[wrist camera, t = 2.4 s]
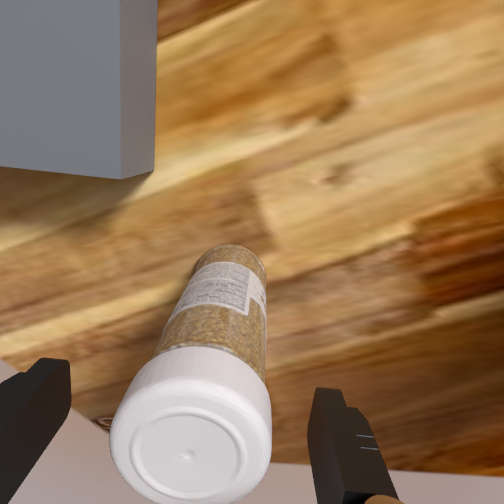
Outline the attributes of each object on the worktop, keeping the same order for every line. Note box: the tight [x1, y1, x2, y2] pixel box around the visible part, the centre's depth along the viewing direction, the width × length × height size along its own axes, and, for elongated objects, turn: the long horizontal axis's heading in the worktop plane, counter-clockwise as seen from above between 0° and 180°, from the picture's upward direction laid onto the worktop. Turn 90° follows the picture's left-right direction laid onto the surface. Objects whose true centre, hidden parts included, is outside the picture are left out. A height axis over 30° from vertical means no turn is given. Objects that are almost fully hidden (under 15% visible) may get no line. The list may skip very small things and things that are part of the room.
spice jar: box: [109, 244, 272, 504], centre depth 16 cm, size 5×5×13 cm
